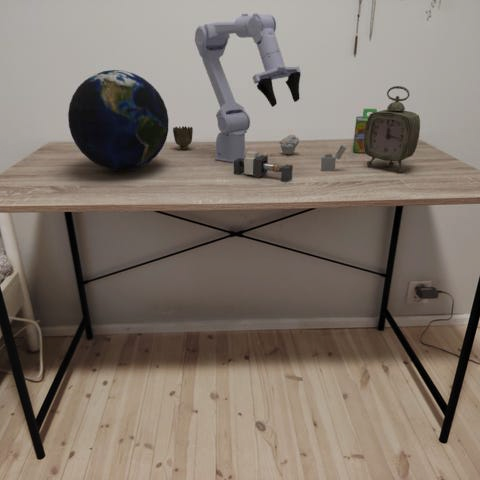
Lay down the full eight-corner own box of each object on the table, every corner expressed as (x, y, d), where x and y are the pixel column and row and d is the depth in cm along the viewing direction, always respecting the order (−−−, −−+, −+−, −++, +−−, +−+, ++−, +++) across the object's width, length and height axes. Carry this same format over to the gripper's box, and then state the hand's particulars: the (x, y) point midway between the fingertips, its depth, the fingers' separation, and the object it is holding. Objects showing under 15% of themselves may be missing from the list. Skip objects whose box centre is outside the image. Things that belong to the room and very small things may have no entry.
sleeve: (244, 173, 134) (244, 153, 131) (251, 169, 138) (251, 150, 135) (252, 174, 133) (253, 154, 130) (259, 170, 137) (260, 151, 134)
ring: (254, 176, 132) (254, 159, 130) (261, 171, 137) (261, 155, 134) (260, 176, 132) (260, 159, 129) (267, 172, 136) (267, 155, 133)
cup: (192, 151, 162) (191, 129, 158) (172, 151, 162) (171, 129, 159) (194, 146, 169) (193, 125, 165) (175, 146, 169) (174, 125, 165)
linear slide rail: (233, 173, 137) (233, 160, 135) (239, 170, 139) (239, 157, 138) (287, 182, 129) (287, 167, 127) (291, 178, 132) (292, 164, 130)
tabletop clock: (360, 166, 143) (370, 85, 132) (374, 160, 149) (384, 83, 138) (403, 175, 134) (417, 89, 123) (415, 168, 140) (429, 86, 129)
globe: (124, 152, 161) (114, 65, 148) (190, 164, 147) (185, 68, 134) (56, 173, 138) (36, 72, 125) (126, 189, 124) (112, 76, 111)
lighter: (321, 171, 139) (323, 146, 135) (320, 169, 140) (322, 144, 137) (344, 171, 139) (346, 145, 135) (343, 169, 140) (345, 144, 137)
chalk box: (352, 153, 159) (357, 110, 152) (352, 147, 167) (356, 106, 160) (379, 154, 157) (384, 111, 151) (377, 148, 165) (383, 107, 159)
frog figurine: (298, 156, 154) (299, 137, 151) (278, 156, 155) (279, 136, 152) (298, 152, 160) (299, 133, 157) (279, 152, 161) (280, 132, 158)
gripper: (254, 53, 118) (269, 102, 118) (299, 46, 123) (313, 92, 124) (244, 65, 125) (259, 111, 125) (288, 58, 130) (301, 102, 130)
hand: (285, 102), depth 125 cm, fingers open, 7 cm apart
